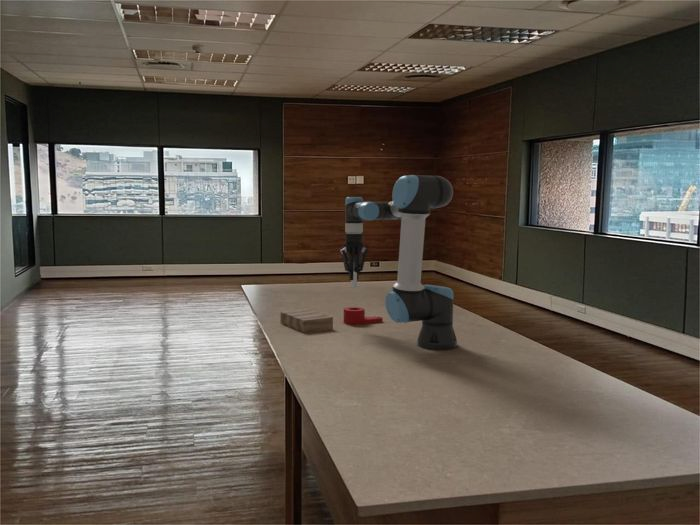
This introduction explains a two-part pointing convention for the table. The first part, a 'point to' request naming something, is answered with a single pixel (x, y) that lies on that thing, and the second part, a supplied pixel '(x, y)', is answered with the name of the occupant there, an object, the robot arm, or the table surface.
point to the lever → (358, 317)
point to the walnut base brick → (306, 320)
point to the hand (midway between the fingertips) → (353, 287)
